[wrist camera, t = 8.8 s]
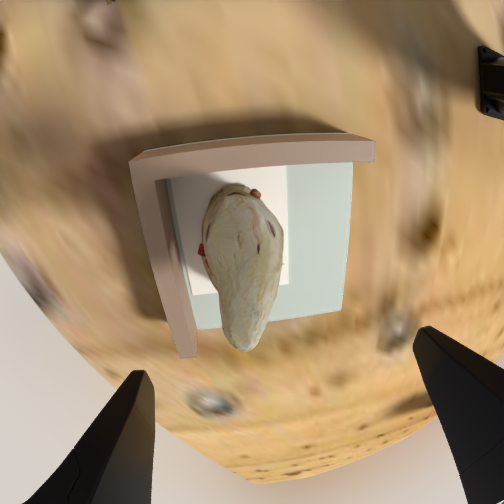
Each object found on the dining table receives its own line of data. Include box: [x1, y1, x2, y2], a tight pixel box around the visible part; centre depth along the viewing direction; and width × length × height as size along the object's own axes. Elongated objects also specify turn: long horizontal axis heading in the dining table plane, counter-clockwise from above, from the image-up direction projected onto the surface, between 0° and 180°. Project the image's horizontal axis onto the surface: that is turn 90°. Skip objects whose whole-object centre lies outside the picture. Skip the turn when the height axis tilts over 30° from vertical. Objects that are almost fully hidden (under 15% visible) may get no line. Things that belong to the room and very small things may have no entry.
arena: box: [128, 133, 376, 359], centre depth 19 cm, size 13×14×4 cm
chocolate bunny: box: [198, 185, 285, 352], centre depth 15 cm, size 6×8×10 cm
